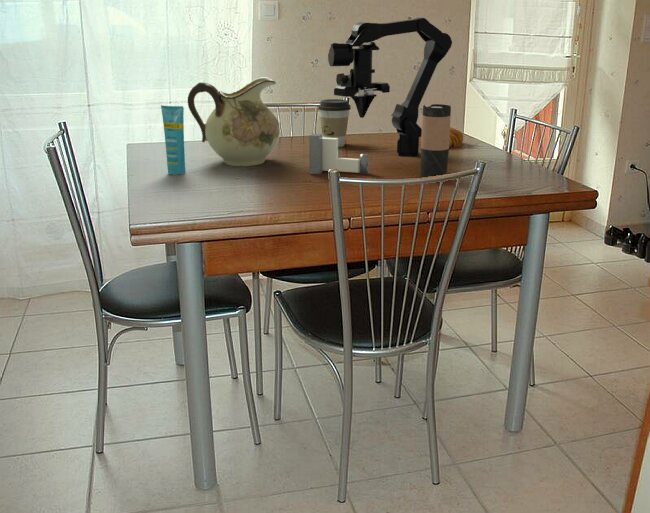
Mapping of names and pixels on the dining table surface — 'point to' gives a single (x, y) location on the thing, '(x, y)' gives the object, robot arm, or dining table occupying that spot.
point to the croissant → (455, 138)
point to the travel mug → (435, 139)
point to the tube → (174, 138)
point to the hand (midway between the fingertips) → (361, 117)
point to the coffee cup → (334, 119)
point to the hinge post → (364, 163)
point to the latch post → (315, 153)
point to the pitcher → (238, 123)
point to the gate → (336, 157)
